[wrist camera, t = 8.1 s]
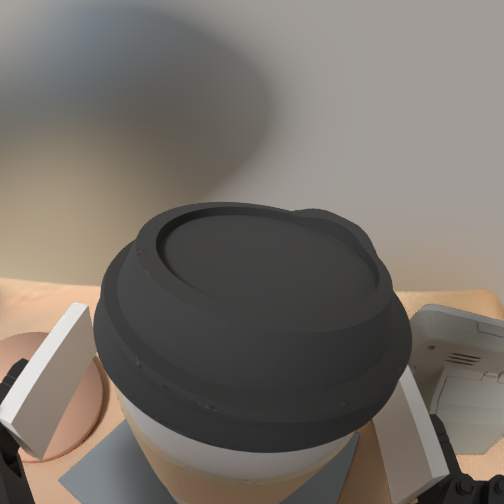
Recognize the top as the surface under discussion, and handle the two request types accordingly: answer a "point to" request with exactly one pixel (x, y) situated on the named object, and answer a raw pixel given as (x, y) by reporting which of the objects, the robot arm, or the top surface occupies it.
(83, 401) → the terracotta coaster
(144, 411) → the coffee cup
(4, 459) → the robot arm
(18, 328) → the top surface
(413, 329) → the digital clock
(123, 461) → the blue gray square tile
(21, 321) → the top surface
